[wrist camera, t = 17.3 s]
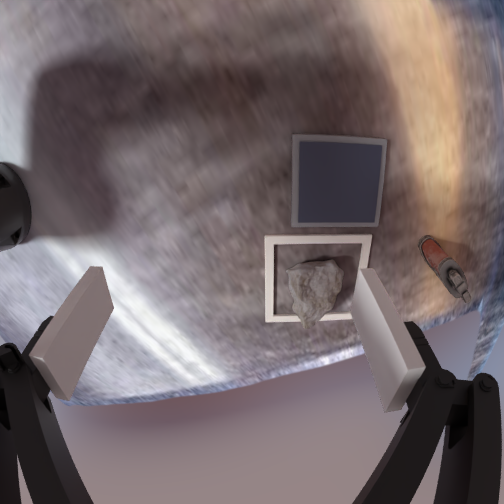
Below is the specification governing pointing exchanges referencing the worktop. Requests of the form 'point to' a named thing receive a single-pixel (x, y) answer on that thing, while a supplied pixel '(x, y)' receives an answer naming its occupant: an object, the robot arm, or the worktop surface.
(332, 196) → the ink pad
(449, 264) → the lighter
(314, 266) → the stone
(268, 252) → the white flat square frame
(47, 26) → the worktop surface
